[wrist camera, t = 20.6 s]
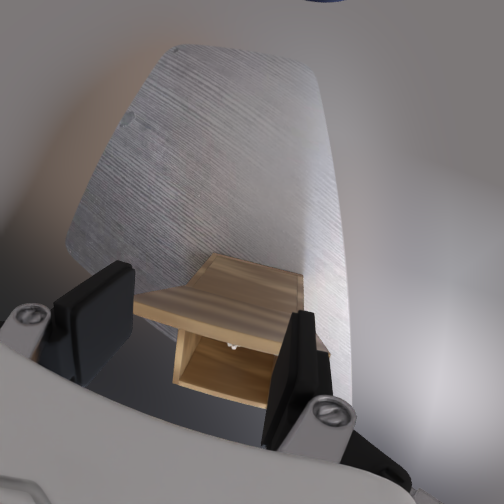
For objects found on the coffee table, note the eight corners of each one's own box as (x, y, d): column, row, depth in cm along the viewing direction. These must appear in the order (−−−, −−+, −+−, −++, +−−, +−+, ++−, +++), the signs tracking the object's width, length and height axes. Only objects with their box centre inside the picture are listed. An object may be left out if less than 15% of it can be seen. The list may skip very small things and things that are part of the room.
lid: (327, 366, 17) (331, 353, 17) (119, 309, 18) (121, 296, 18) (303, 324, 31) (305, 316, 31) (181, 292, 32) (183, 285, 32)
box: (278, 355, 48) (271, 410, 36) (199, 334, 49) (172, 383, 37) (303, 275, 43) (304, 318, 32) (213, 252, 44) (183, 287, 33)
